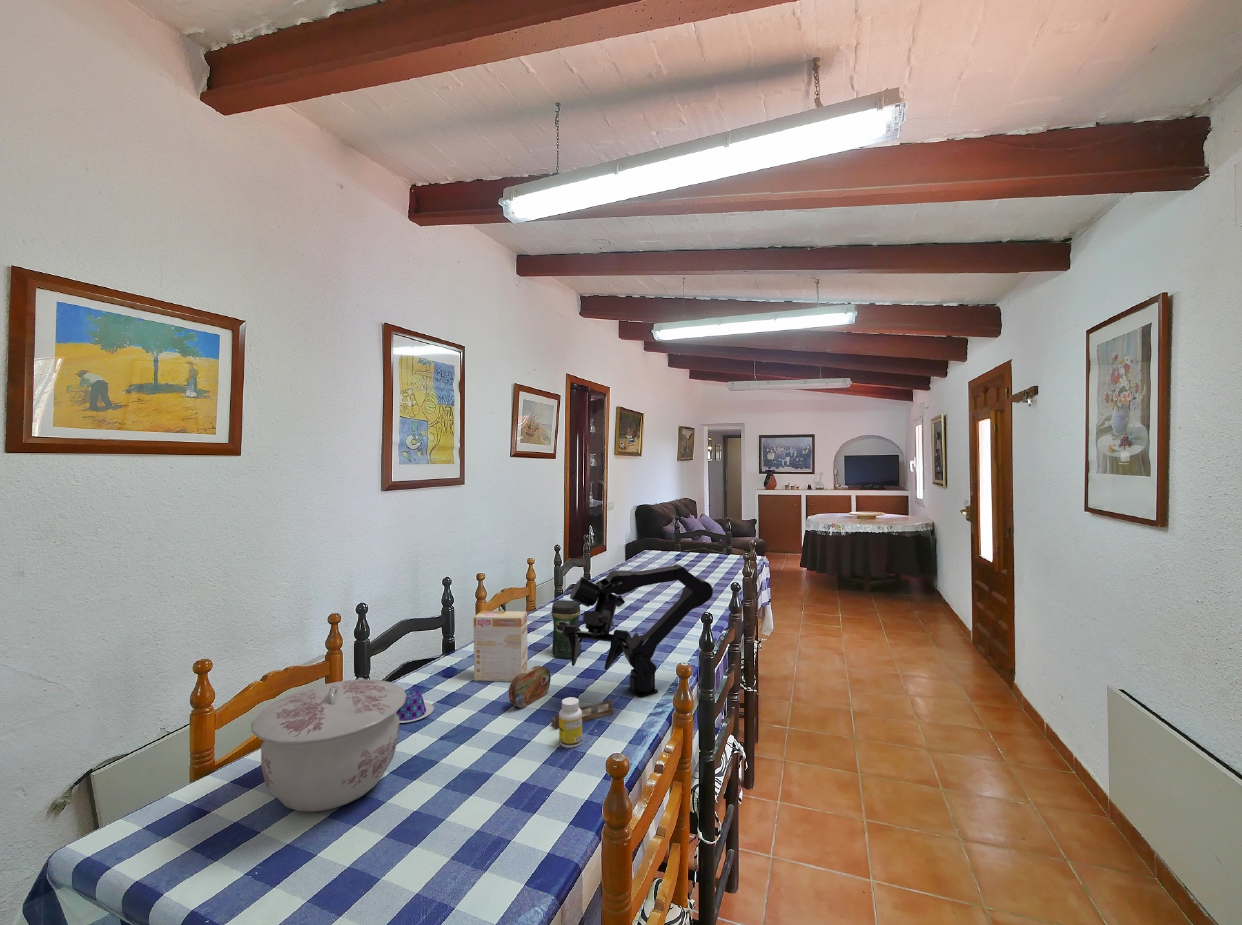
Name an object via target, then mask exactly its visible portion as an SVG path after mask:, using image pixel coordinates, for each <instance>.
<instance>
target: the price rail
mask: <svg viewBox="0 0 1242 925" xmlns="http://www.w3.org/2000/svg"><path fill="white" fill-rule="evenodd" d="M579 708H580V709H581V711H582V723H583V722H587V721H591V720H595V719H598V718H602V717H606V716H609V715H612V714H614V699H613V698H610V699H607V700H606V699H605V700H602V701H599V702H595V703H591V704H587V705H583V706H579ZM551 725H552V727H554V729H555V730H559V712H557V713H555V714H554V717H551Z"/></svg>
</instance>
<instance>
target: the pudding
mask: <svg viewBox="0 0 1242 925" xmlns="http://www.w3.org/2000/svg"><path fill="white" fill-rule="evenodd" d="M405 693H406V695H407V696H406V700H405V704H404V705H403V706H402V707H401V708H400V709H399V710H398V711H397V712H396V713H397V715H398V717H399V724H400V723H401V724H403V723H404V724H405V723H411V722H416V721H418V720H422V719H423V718H426V717H427V716H429V715H431V714H432V713H433V711H434V707H435V706H434V705H433V704H432V703H430V702H427V701H424V696H423V694H422V692H420V691H418V690H408V691H405Z"/></svg>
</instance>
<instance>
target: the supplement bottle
mask: <svg viewBox="0 0 1242 925" xmlns="http://www.w3.org/2000/svg"><path fill="white" fill-rule="evenodd" d="M579 707H580V700H579V699H578V698H577V697H572V696H569V697H566V698H563V699H562V700H561V709H560V711H559V712H558V713H559V729H558V730H559V731H558V734H559V735H558V737H559V738H558V740H559V745H560V746H562V747H563V748H567V749H569V748H570V749H572V748H576V747H578V746H580V745H581V744H582V743H583V722H582V711H581V709H580V708H579Z"/></svg>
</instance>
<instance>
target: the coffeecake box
mask: <svg viewBox="0 0 1242 925" xmlns="http://www.w3.org/2000/svg"><path fill="white" fill-rule="evenodd" d="M527 670H529V668H528V611H511V610H509V611H507V610H506V611H505V610H481V611H480V612H478V613H477V614H476V615H474V616H473V681H475V682H476V681H478V682H479V681H480V682H481V681H483V682H484V681H485V682H510V683H511V682H512V680H513V679H514V678H515V677H516V676H517V675H519V674H521V673H523V672H525V671H527Z"/></svg>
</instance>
